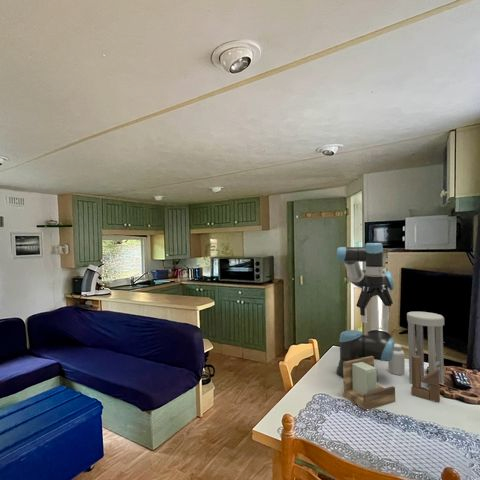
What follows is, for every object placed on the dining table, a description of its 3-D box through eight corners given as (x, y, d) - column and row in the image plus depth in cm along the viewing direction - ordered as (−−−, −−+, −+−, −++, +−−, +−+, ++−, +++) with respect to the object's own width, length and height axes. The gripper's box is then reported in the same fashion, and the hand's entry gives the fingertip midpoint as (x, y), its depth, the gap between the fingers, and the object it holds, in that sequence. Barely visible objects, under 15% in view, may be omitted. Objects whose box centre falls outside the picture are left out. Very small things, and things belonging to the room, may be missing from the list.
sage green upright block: (352, 390, 132) (352, 363, 133) (362, 387, 135) (361, 361, 135) (367, 398, 125) (366, 370, 125) (377, 395, 127) (376, 368, 128)
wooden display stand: (343, 396, 133) (343, 361, 134) (372, 389, 141) (371, 355, 141) (365, 410, 122) (365, 372, 122) (395, 401, 129) (394, 365, 129)
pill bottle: (398, 376, 154) (398, 348, 155) (385, 371, 161) (384, 344, 162) (408, 373, 158) (407, 346, 158) (394, 368, 165) (393, 341, 165)
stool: (403, 382, 147) (401, 313, 148) (416, 375, 156) (415, 310, 157) (437, 395, 134) (435, 319, 136) (450, 385, 143) (448, 315, 145)
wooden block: (439, 402, 128) (438, 361, 128) (411, 395, 135) (410, 356, 135) (440, 399, 131) (438, 359, 131) (412, 392, 137) (411, 354, 138)
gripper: (359, 277, 128) (360, 325, 127) (400, 275, 137) (401, 319, 136) (347, 276, 135) (348, 321, 134) (387, 273, 144) (388, 316, 143)
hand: (375, 320), depth 135 cm, fingers open, 13 cm apart
